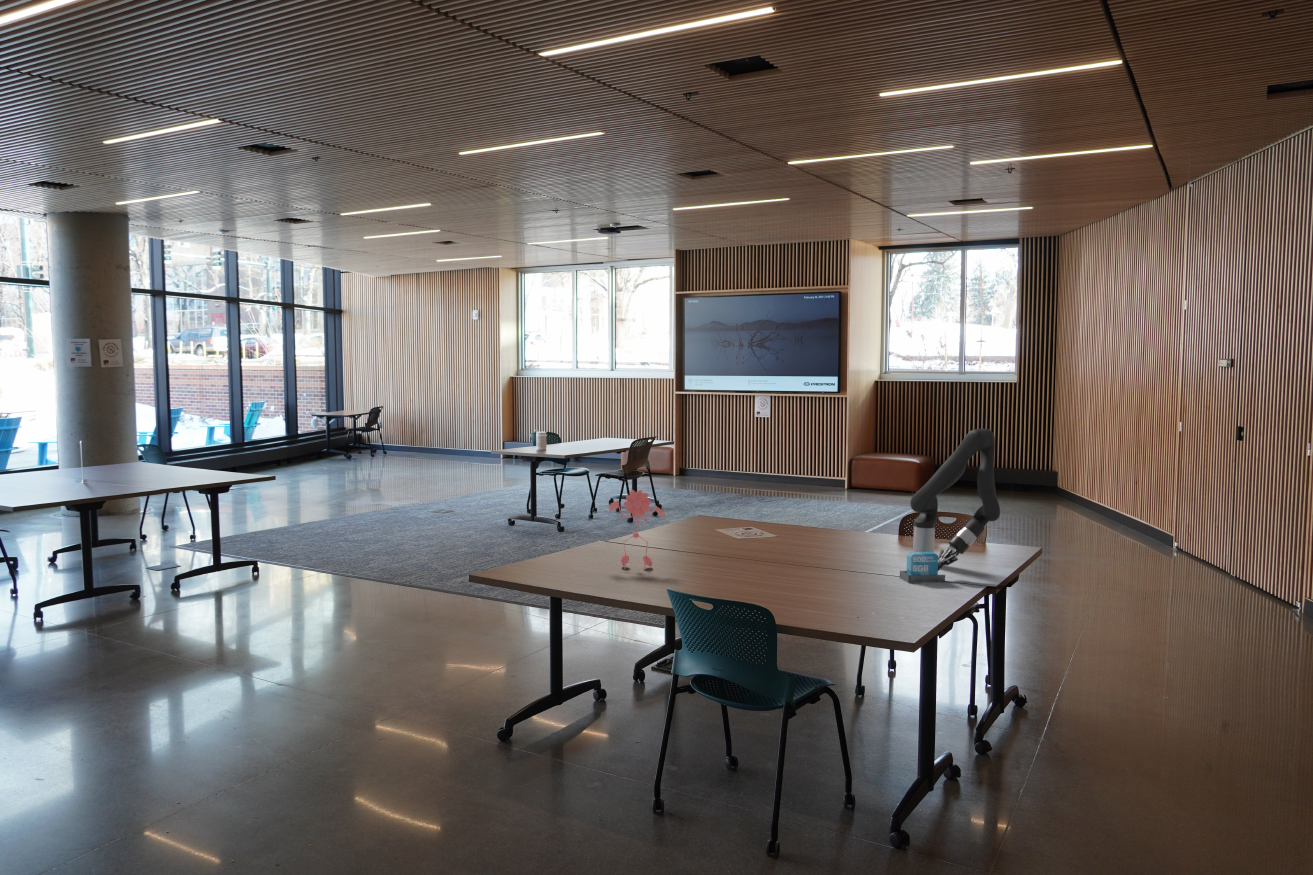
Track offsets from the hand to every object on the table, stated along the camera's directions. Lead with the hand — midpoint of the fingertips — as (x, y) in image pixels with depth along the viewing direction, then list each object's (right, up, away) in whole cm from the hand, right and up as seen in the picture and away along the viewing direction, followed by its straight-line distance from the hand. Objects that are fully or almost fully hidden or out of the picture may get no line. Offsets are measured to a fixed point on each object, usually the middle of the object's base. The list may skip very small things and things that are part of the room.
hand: (935, 569), depth 382 cm
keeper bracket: (-6, -4, 0) cm, 7 cm away
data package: (-6, -5, -2) cm, 8 cm away
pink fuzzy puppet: (-127, -2, +24) cm, 129 cm away
